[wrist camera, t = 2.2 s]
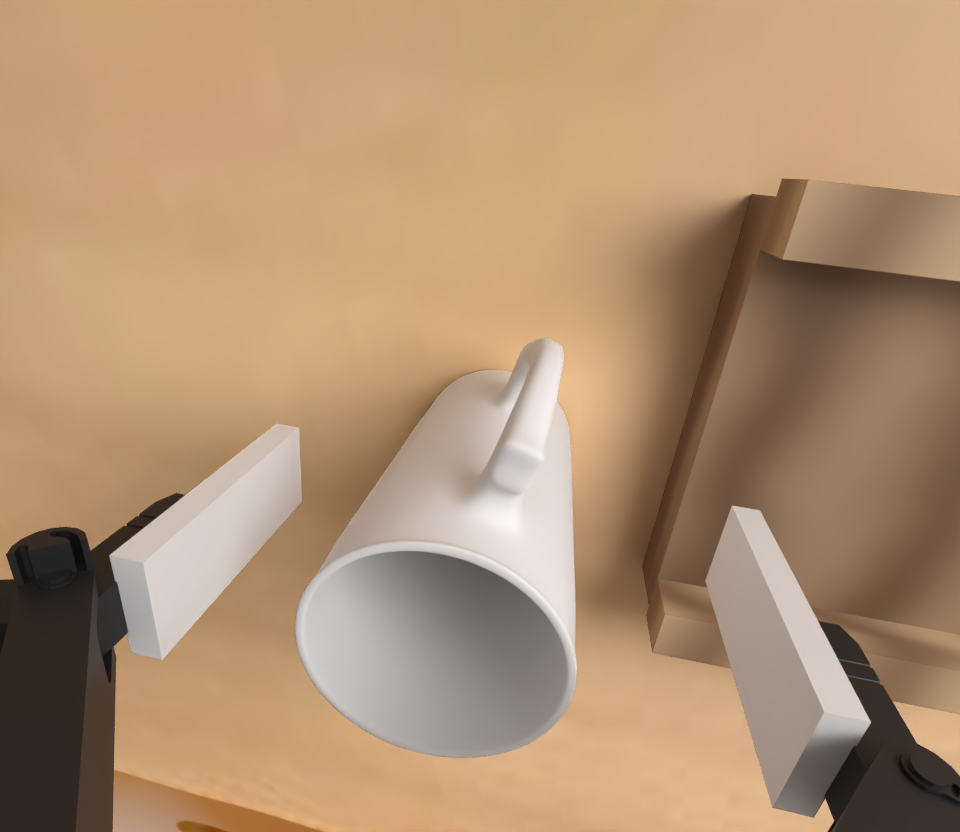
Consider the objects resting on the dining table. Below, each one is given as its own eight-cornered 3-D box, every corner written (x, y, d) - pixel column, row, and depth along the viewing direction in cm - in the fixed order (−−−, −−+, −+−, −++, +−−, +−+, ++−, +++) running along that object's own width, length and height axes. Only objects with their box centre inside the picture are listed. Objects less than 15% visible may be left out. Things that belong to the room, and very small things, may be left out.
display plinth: (640, 575, 25) (652, 652, 21) (756, 177, 18) (808, 180, 14) (1012, 645, 24) (1104, 743, 20) (1304, 238, 16) (1544, 260, 12)
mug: (537, 524, 25) (507, 793, 14) (402, 468, 25) (269, 694, 14) (643, 328, 21) (718, 501, 10) (480, 258, 21) (374, 356, 10)
